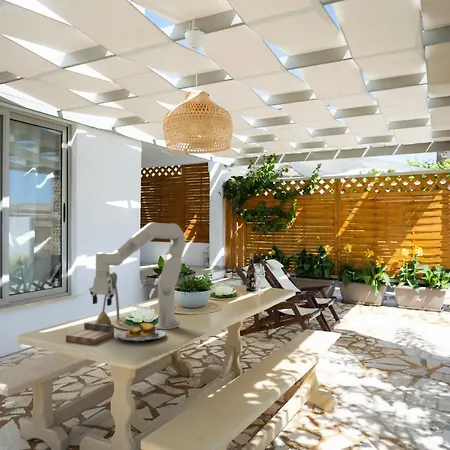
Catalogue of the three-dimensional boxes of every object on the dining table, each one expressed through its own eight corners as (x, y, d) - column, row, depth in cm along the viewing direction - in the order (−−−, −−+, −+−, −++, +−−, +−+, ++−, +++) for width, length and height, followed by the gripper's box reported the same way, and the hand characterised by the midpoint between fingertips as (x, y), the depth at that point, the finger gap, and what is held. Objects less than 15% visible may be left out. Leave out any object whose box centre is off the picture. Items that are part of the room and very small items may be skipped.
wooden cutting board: (114, 336, 228) (114, 325, 227) (94, 344, 213) (94, 332, 213) (86, 333, 234) (86, 322, 234) (65, 341, 219) (65, 329, 219)
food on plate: (106, 340, 222) (106, 327, 222) (141, 329, 242) (141, 318, 242) (141, 348, 208) (141, 335, 207) (175, 336, 228) (175, 324, 228)
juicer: (118, 323, 254) (117, 273, 254) (102, 322, 258) (101, 272, 257) (126, 319, 264) (126, 271, 263) (111, 318, 267) (111, 270, 267)
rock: (117, 325, 241) (111, 320, 249) (109, 315, 237) (103, 309, 245) (102, 339, 236) (96, 333, 244) (93, 329, 233) (87, 322, 241)
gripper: (119, 274, 241) (118, 304, 241) (94, 272, 247) (93, 301, 247) (111, 276, 234) (110, 307, 234) (85, 273, 240) (85, 304, 240)
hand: (102, 304), depth 241 cm, fingers open, 9 cm apart
